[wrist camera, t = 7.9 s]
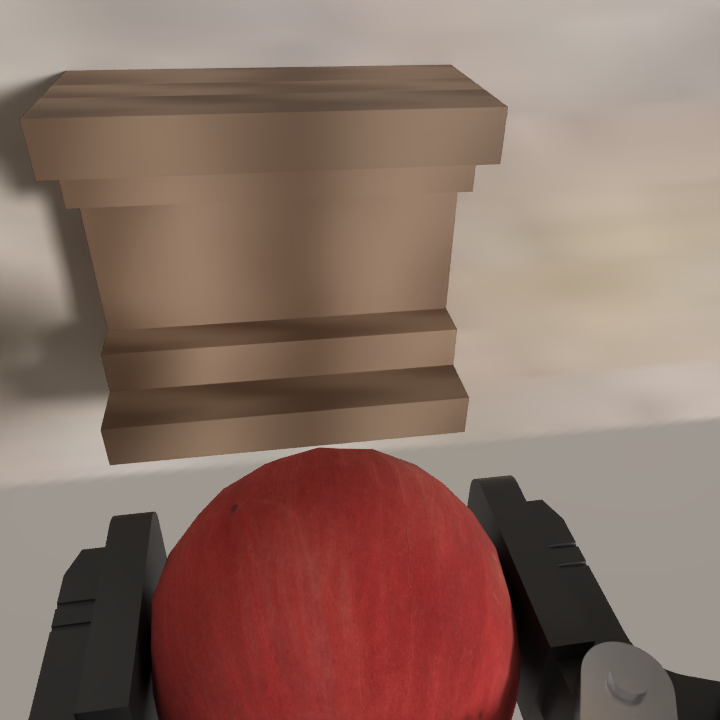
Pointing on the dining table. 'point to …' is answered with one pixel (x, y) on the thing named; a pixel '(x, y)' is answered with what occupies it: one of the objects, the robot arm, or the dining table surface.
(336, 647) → the pomegranate
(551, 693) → the robot arm
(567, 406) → the dining table surface
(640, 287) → the dining table surface
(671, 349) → the dining table surface
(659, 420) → the dining table surface
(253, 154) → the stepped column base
